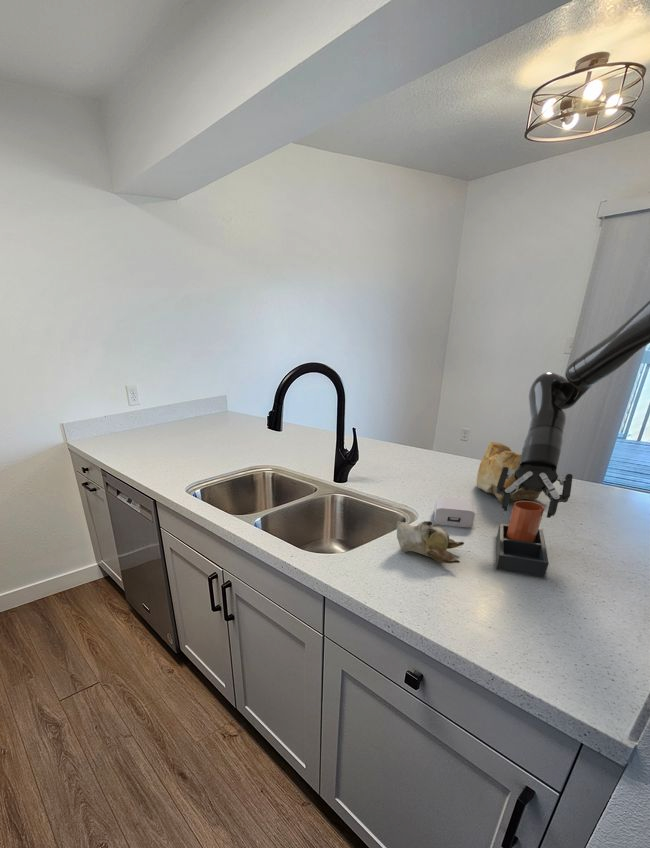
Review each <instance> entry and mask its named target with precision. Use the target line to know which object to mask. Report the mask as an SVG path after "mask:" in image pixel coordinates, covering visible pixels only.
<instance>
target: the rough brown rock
mask: <svg viewBox="0 0 650 848" xmlns="http://www.w3.org/2000/svg"><path fill="white" fill-rule="evenodd" d="M520 459H521V454H518V453H516V452H515V451H512V449H511V448H510V446H507V445H505V444H504V443H501V442H494V441H491V442H489V443H488V446H487V448H486V450H485V452H484V455H483V457H482V459H481V460H480V463H479V467H478V470H477V475H476V487H477V488H478V489H480V490H482V491H483V492H484V493H486V494H491V495H495V497H496V499H497V500H498V501H499V502H500V503H501V504H502V500H503V495H502V494H498V493H496V489H497V485H498V482H499V479H500V476H501V473H502V470H503V468H504V467H507V468H508V470H515V471H516V470H517V469H518V467H519V463H520ZM515 481H516V479H515V477H514V476H511V477H510V478H509V479H506V480H505V483H504V487H505V488H508V487H509V486H511V485H512V484H513V483H514V482H515ZM542 492H543V491H540V492H535V491H533V490H529V491H527V490H524V489H523V488H521V489H520V490H518V491H517V492H515V493H513V494H512V495H511V496H510V500H509V501H511V502H513V501H514V502H515V501H521V500H527V501H536V500H537V499H538V498H539V497H540V494H541V493H542Z"/></svg>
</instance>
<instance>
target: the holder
mask: <svg viewBox="0 0 650 848" xmlns="http://www.w3.org/2000/svg"><path fill="white" fill-rule="evenodd" d="M508 526H509V524H503V523H499V525H498V530H497V533H496V534H497V535H496V556H495V557H496V560H495V561H496V562H495V563H496V564H495V569H496V570H498V571H503V572H509V573H515V574H520V575H525V576H533V577H538V578H543V579H544V578H545V577H546V574H547V571H548V566H549V564H550V563H549V558H548V553H547V552H548V551H547V546H546V541H545V535H544V529H542V528H541V529H540V528H539V529H538V532H537V536H536V539H535V543H532V542H525V541H518V540H511V539H505V538H506V534H507V530H508Z"/></svg>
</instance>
